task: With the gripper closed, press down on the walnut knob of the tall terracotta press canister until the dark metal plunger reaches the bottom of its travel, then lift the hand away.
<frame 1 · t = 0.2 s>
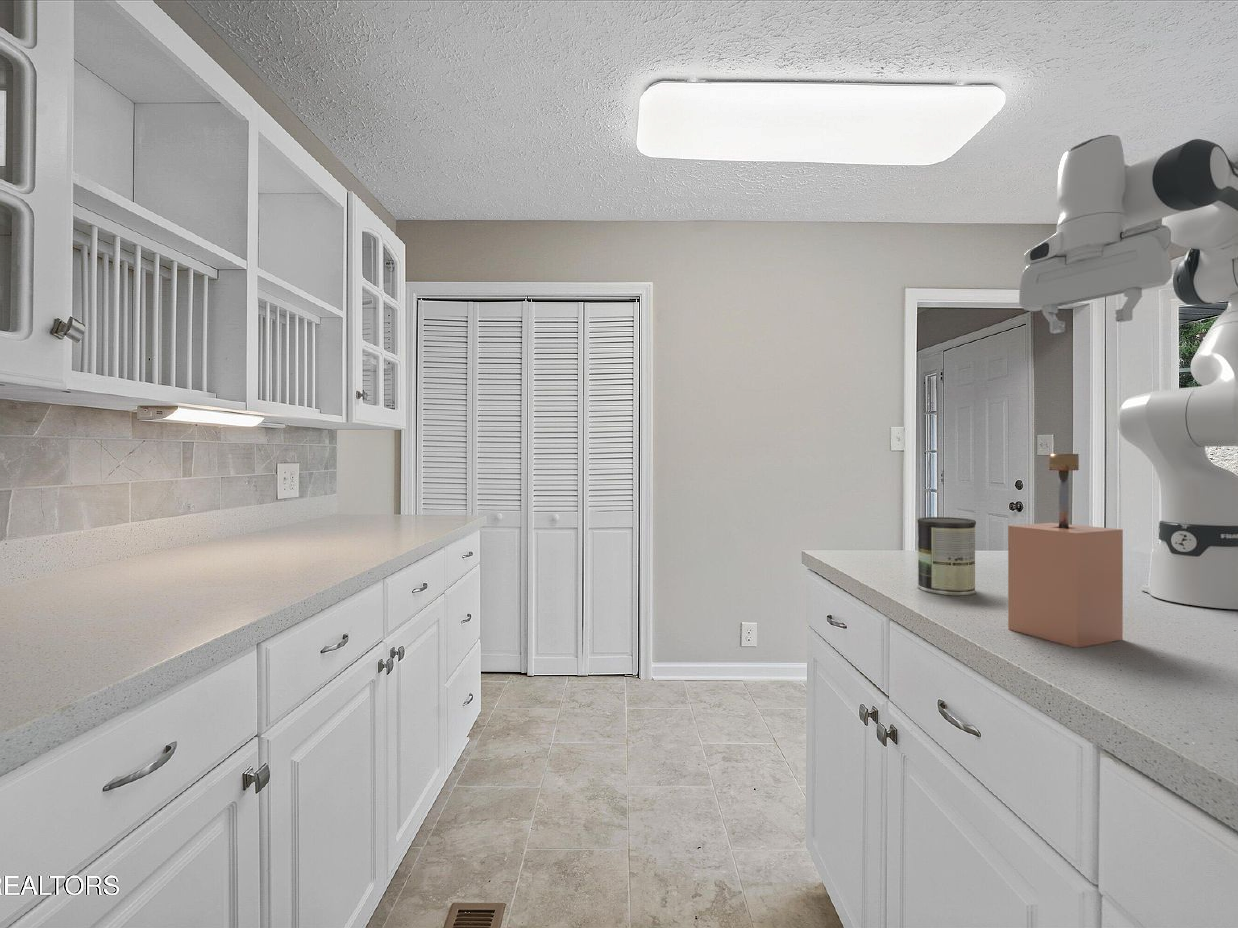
hand: (1089, 327, 99), 48 cm above the worktop, fingers open, 8 cm apart
coffee can: (946, 590, 122), on the worktop
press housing: (1063, 634, 91), on the worktop
plunger: (1063, 497, 91), point 21 cm above the worktop, slide at 0.0 cm
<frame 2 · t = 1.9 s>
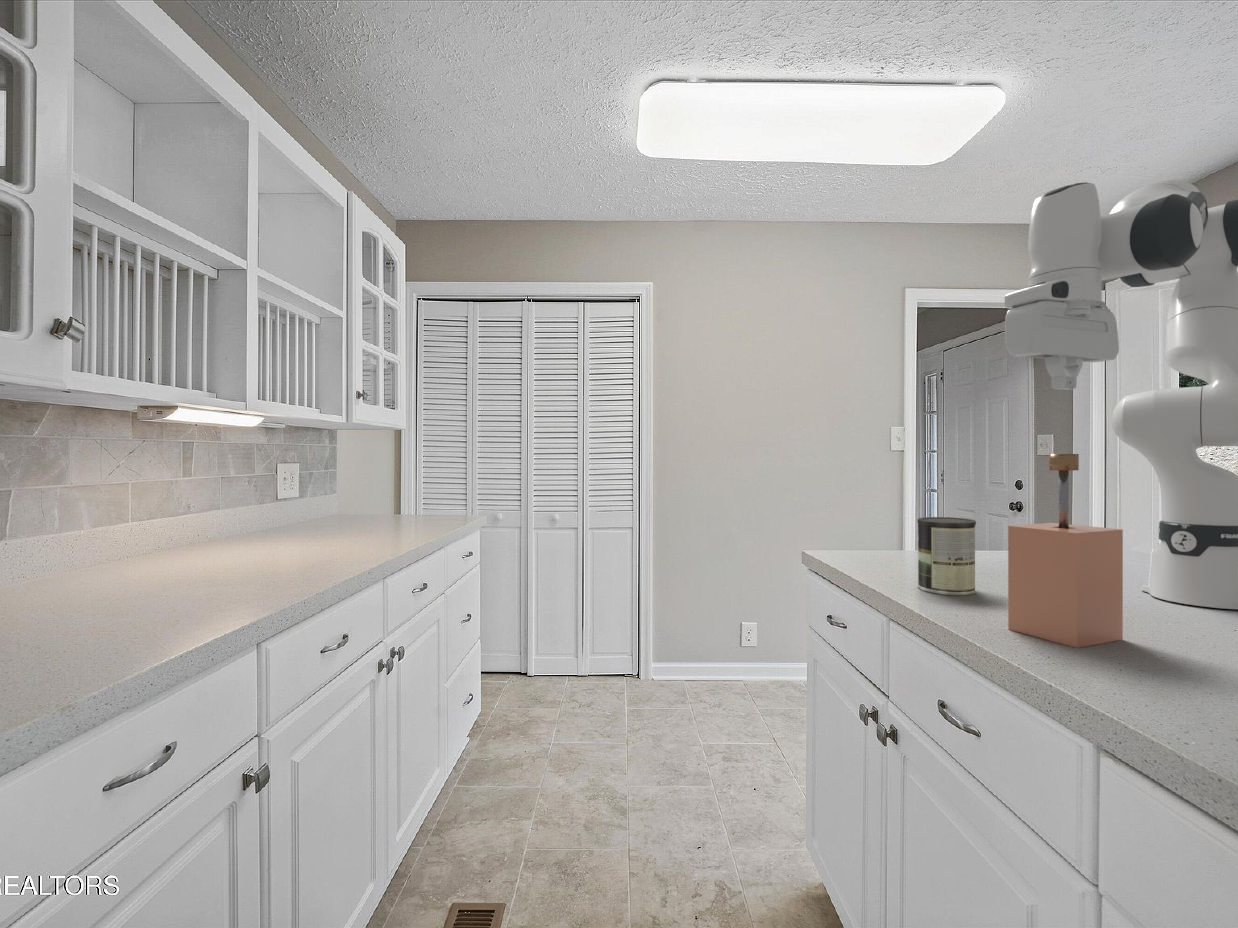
hand: (1064, 389, 91), 37 cm above the worktop, fingers closed
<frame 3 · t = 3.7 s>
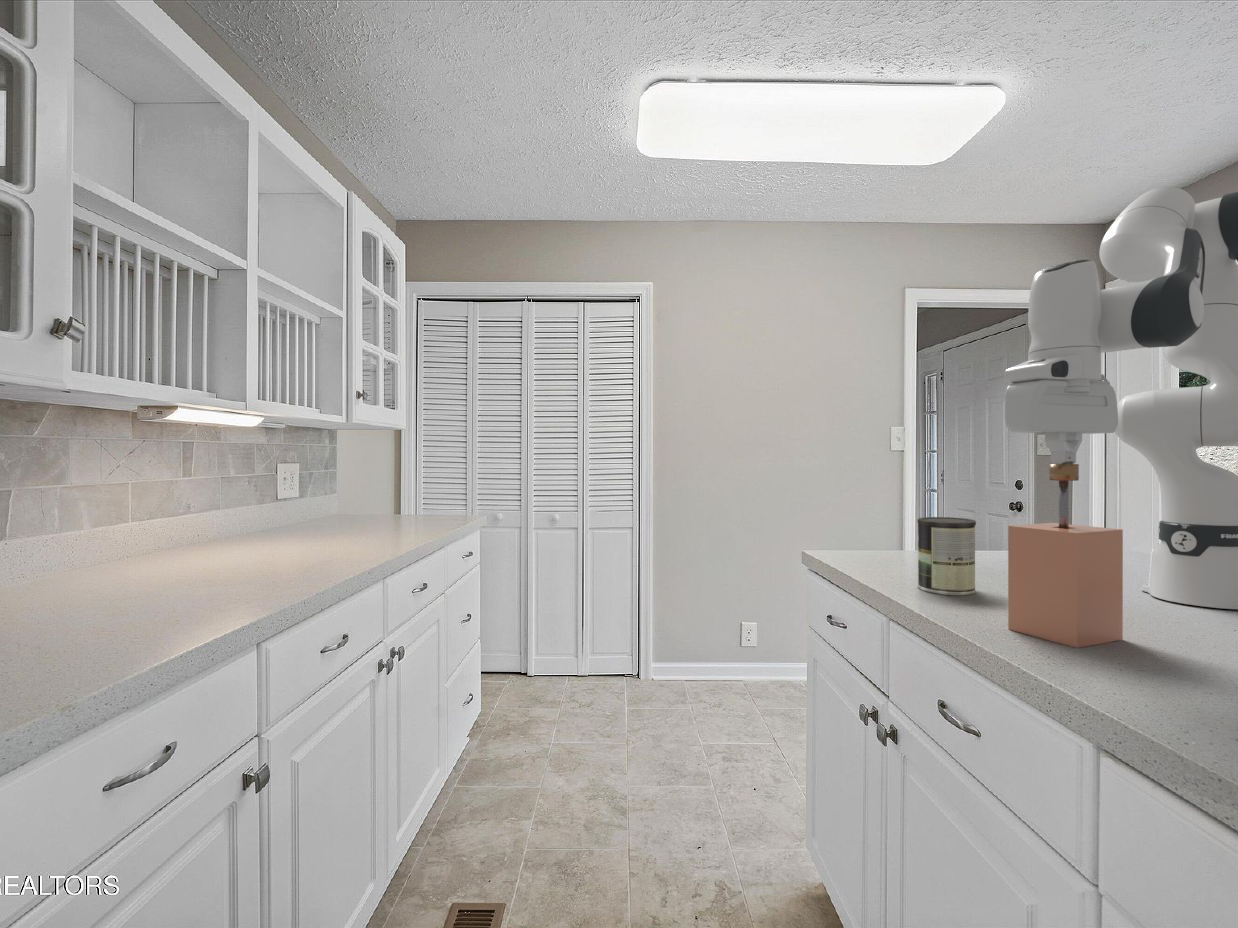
hand: (1063, 463, 91), 26 cm above the worktop, fingers closed, pressing on plunger
plunger: (1063, 507, 91), point 19 cm above the worktop, slide at 1.5 cm, touching gripper
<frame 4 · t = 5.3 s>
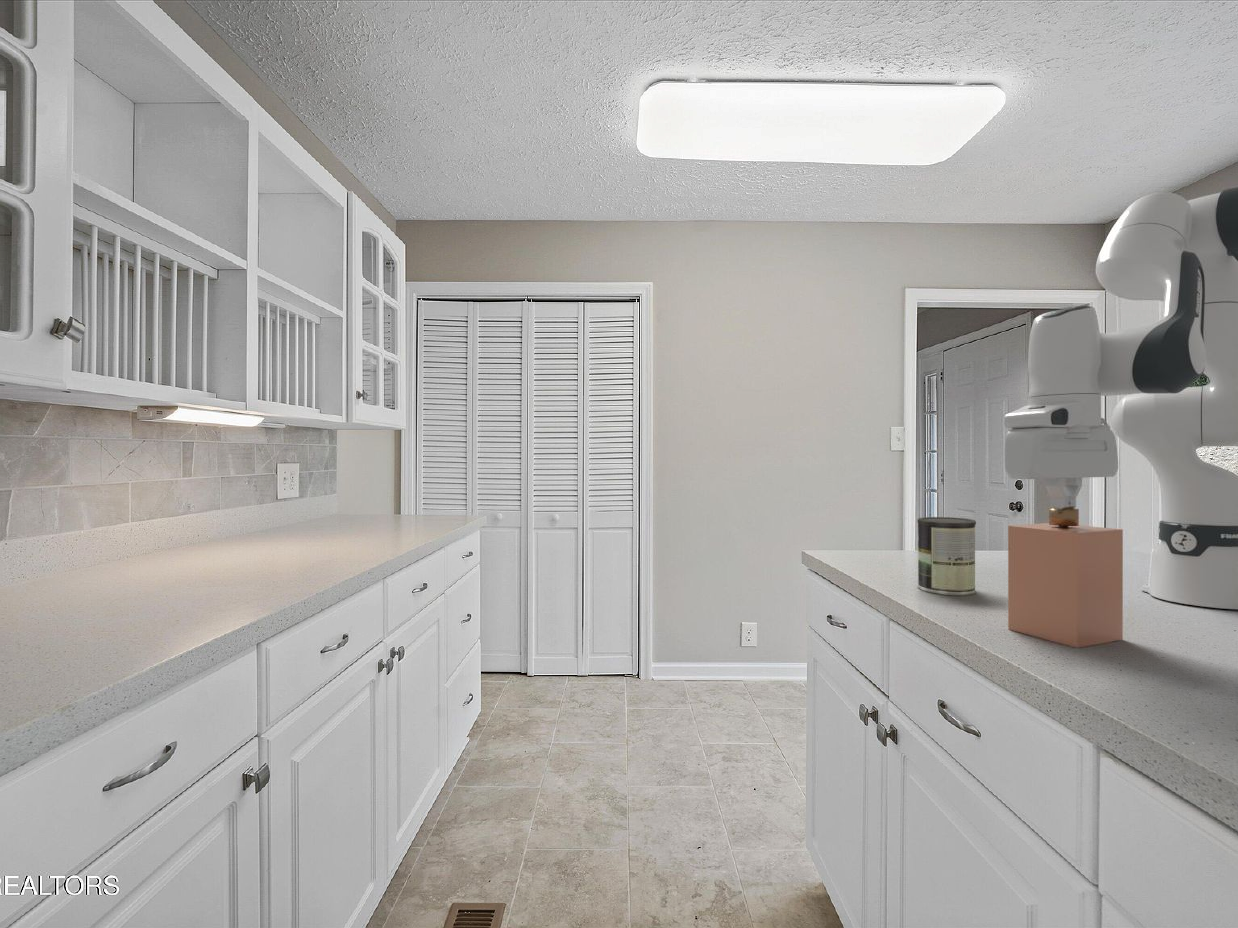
hand: (1063, 508, 91), 19 cm above the worktop, fingers closed, pressing on plunger
plunger: (1063, 552, 91), point 12 cm above the worktop, slide at 8.2 cm, touching gripper
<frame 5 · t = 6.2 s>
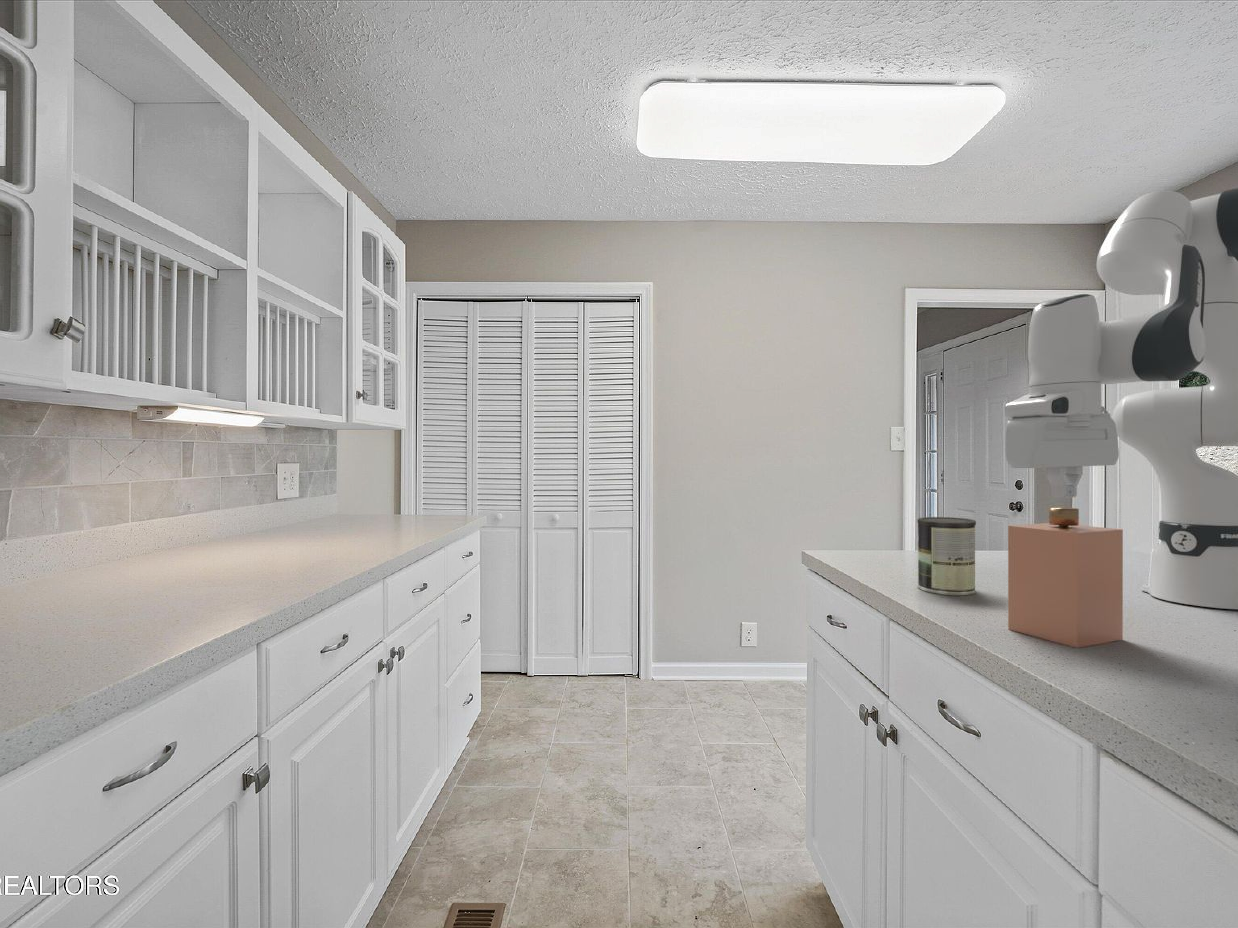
hand: (1064, 497, 91), 20 cm above the worktop, fingers closed
plunger: (1063, 551, 91), point 12 cm above the worktop, slide at 8.1 cm
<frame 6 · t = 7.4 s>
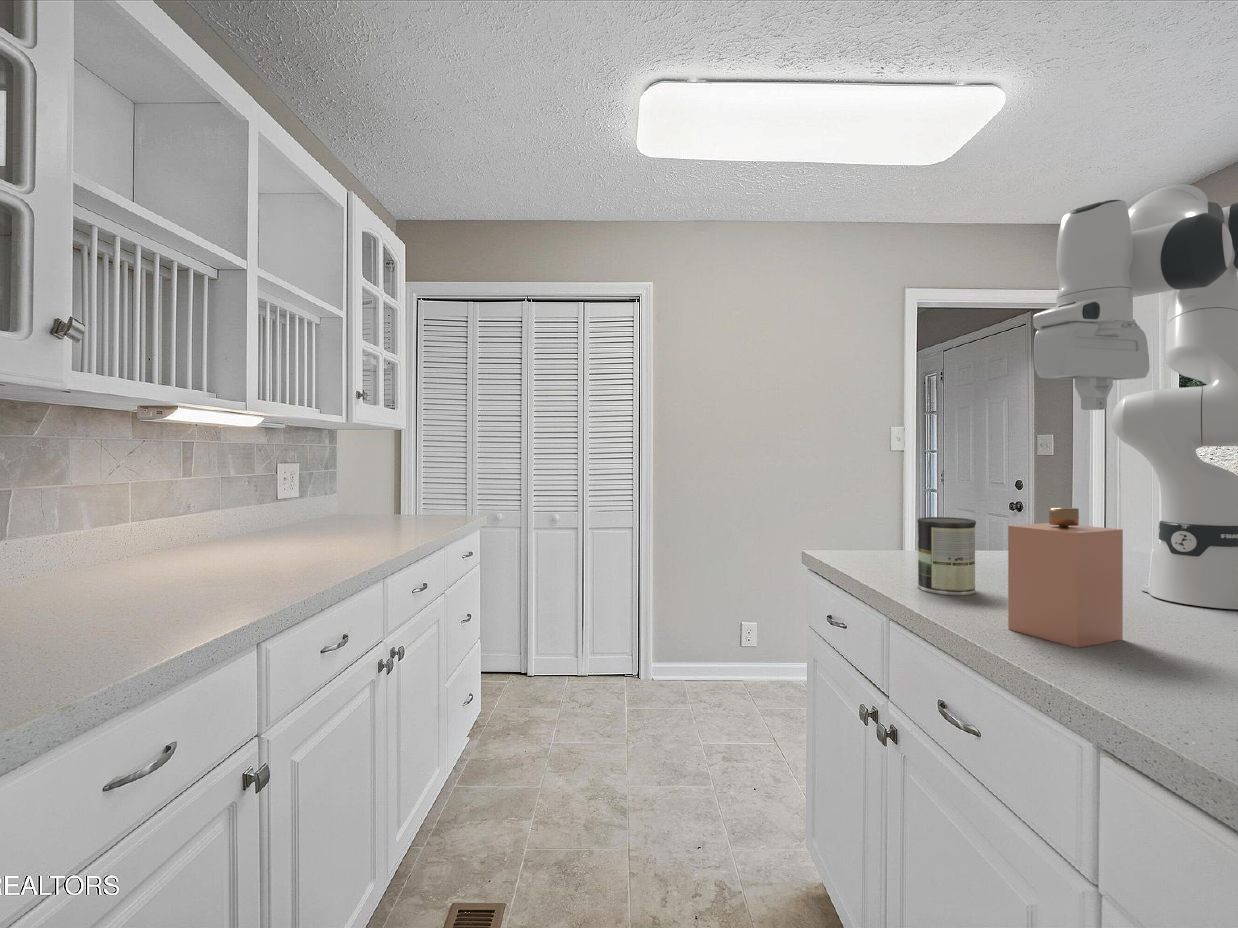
hand: (1093, 409, 90), 33 cm above the worktop, fingers closed
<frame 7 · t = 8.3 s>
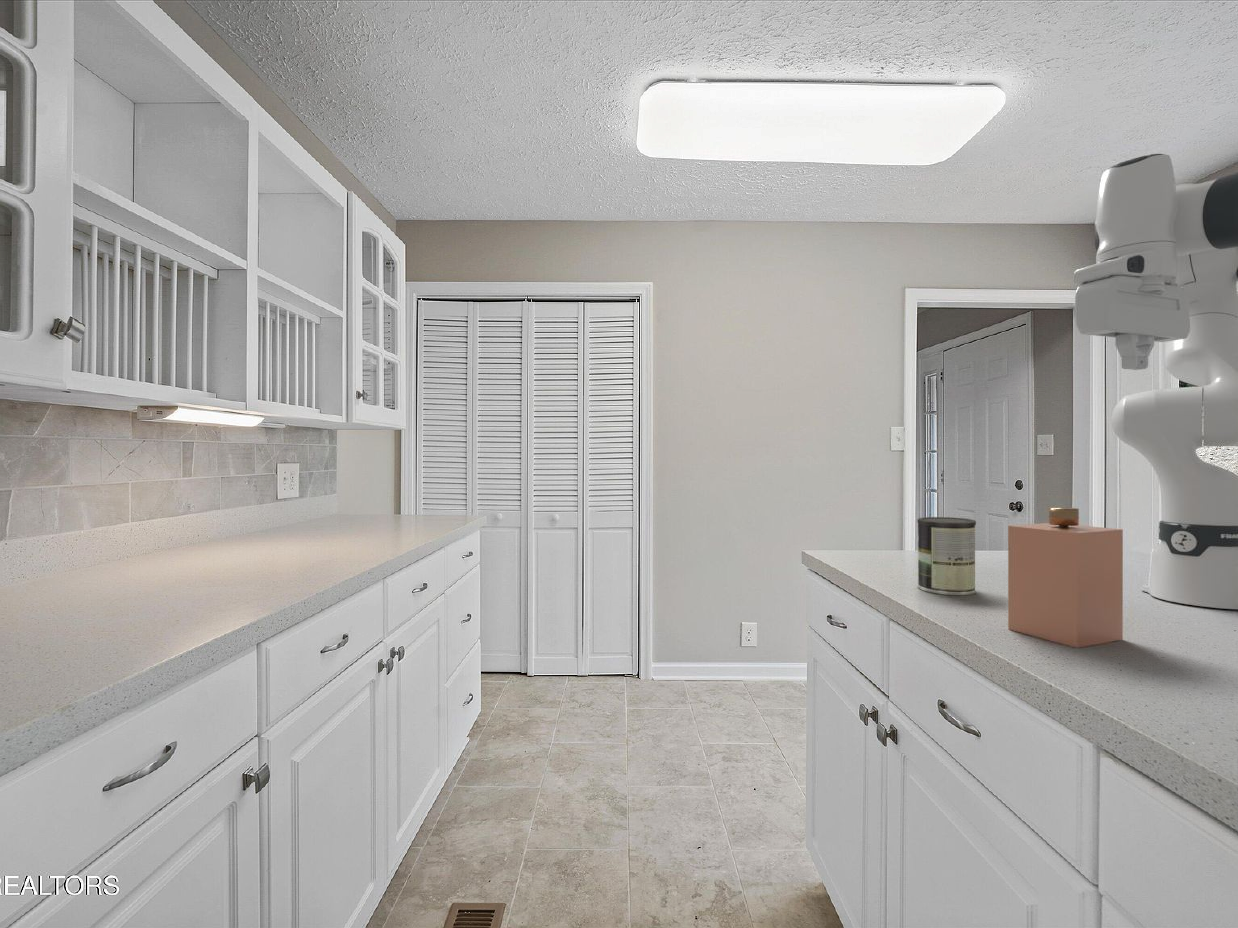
hand: (1134, 369, 88), 39 cm above the worktop, fingers closed
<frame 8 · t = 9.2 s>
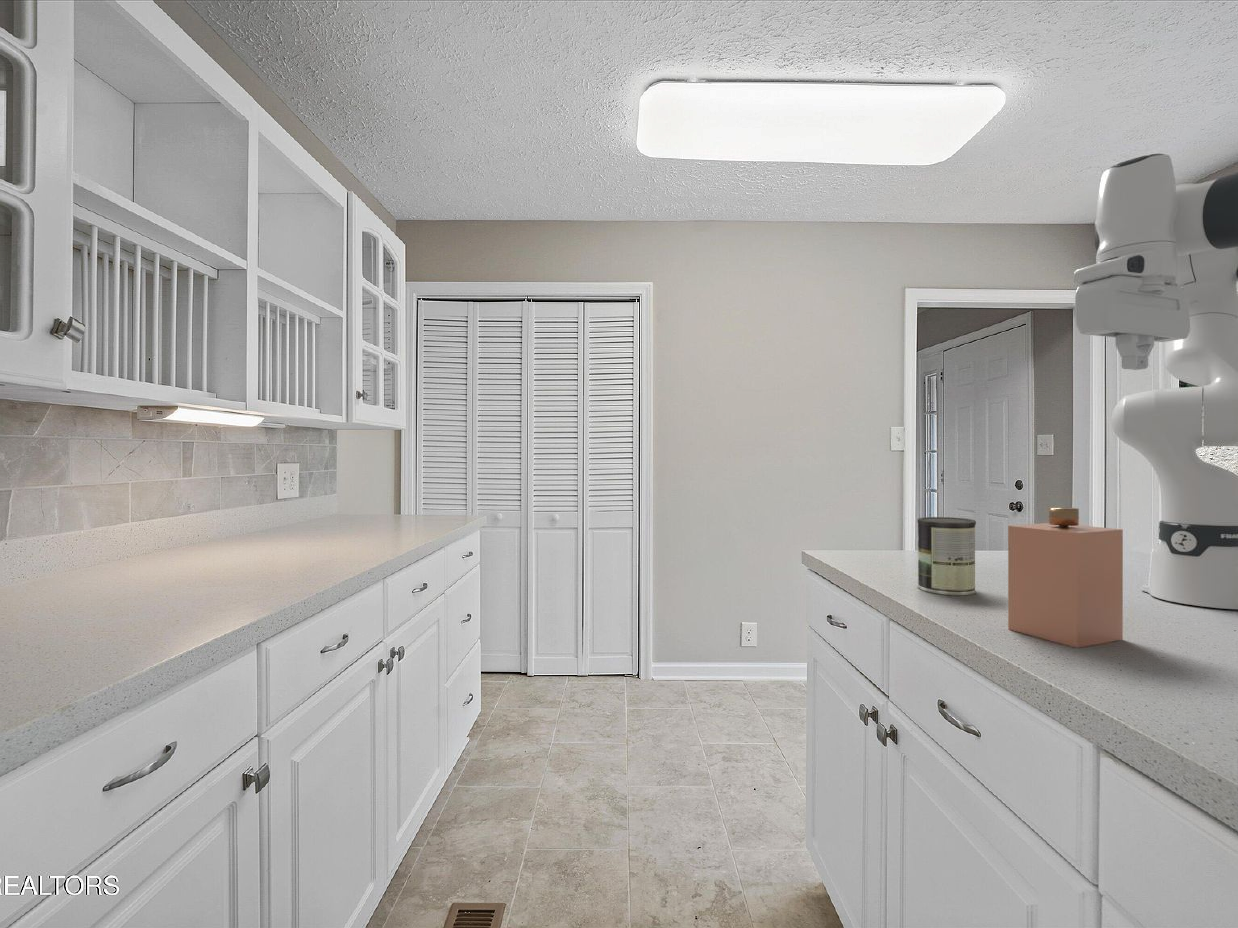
hand: (1134, 369, 88), 39 cm above the worktop, fingers closed
at the end: plunger slide at 8.1 cm; the gripper is holding nothing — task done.
